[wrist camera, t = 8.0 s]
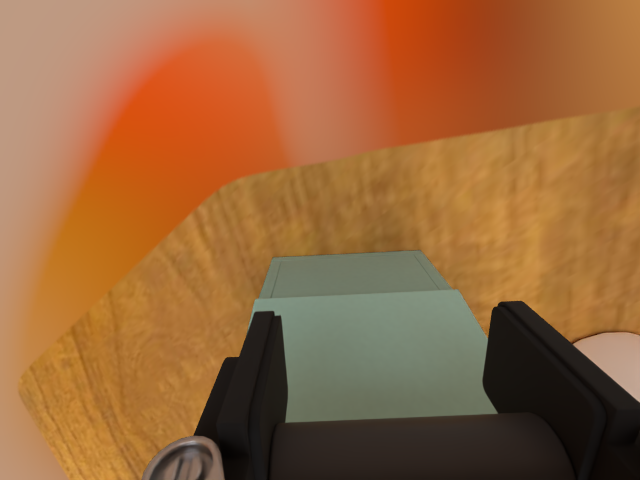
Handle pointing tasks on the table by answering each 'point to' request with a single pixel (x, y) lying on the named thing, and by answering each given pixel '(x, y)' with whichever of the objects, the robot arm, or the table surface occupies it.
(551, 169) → the table surface
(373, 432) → the lid
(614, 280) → the table surface
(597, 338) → the can
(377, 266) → the cool box
